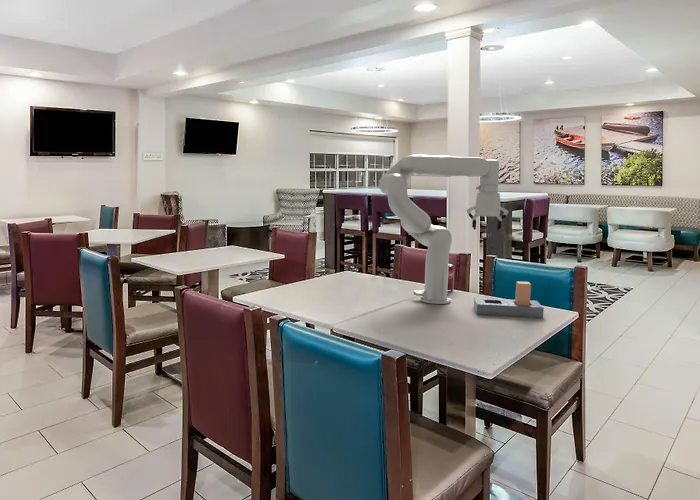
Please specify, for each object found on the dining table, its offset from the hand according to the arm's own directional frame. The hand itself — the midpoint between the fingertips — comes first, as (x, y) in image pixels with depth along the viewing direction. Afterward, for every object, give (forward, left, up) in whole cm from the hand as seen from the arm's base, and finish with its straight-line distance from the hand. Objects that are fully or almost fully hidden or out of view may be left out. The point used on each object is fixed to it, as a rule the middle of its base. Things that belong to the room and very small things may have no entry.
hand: (486, 229), depth 216 cm
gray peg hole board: (+7, -23, -30) cm, 39 cm away
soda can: (-15, +16, -30) cm, 37 cm away
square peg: (+12, -23, -30) cm, 40 cm away
